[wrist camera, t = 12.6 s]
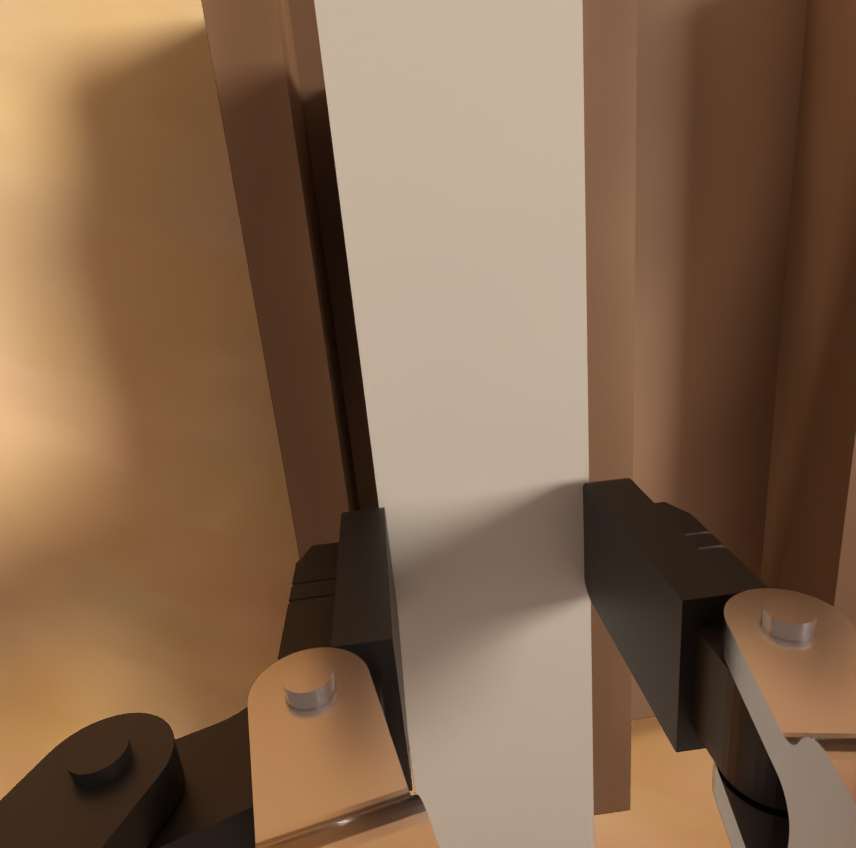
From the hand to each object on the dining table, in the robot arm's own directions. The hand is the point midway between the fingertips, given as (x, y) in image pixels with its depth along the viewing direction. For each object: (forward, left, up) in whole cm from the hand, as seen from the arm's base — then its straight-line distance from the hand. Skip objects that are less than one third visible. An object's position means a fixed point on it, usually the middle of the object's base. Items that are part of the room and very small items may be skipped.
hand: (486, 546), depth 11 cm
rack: (-3, 0, -7) cm, 8 cm away
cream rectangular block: (0, 0, -6) cm, 6 cm away
